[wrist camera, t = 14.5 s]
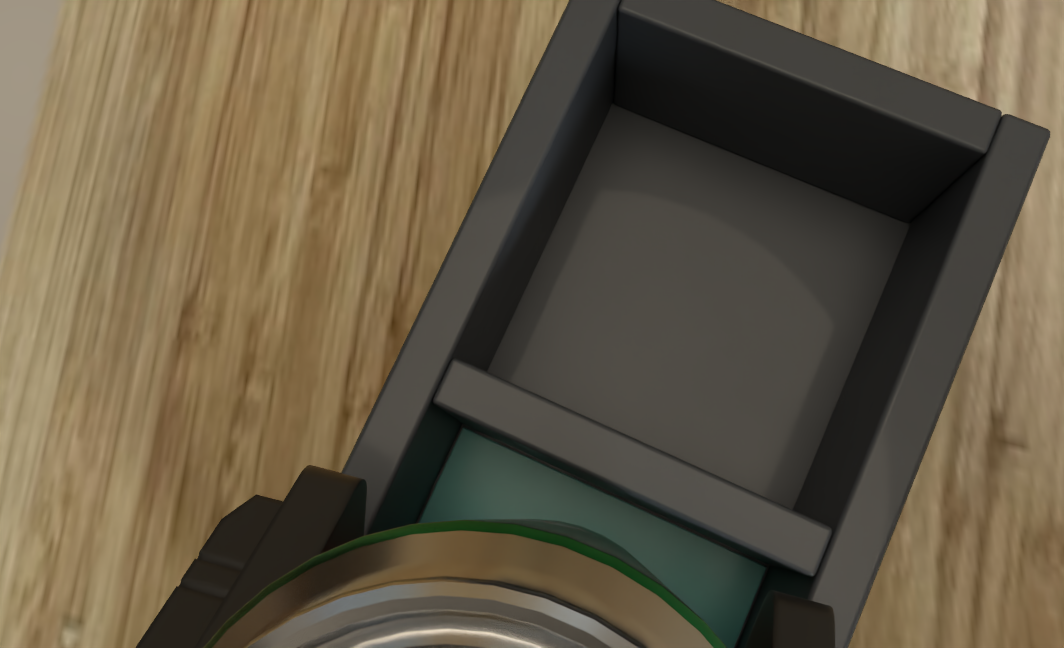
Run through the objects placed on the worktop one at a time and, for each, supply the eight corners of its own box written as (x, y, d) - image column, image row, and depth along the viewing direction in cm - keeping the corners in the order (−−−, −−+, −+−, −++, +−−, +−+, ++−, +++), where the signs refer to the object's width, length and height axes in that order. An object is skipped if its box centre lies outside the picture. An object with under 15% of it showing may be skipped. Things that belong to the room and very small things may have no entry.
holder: (269, 750, 19) (170, 823, 15) (592, 68, 21) (591, -50, 17) (653, 950, 18) (673, 1094, 14) (953, 214, 20) (1055, 129, 16)
